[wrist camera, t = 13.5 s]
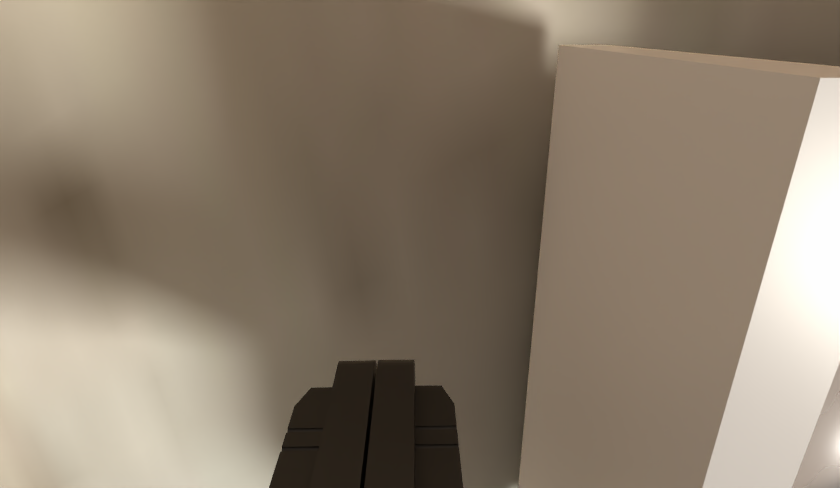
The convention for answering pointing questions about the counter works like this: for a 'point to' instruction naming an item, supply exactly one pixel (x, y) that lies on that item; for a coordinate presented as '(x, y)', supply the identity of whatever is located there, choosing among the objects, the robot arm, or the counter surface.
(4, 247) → the counter surface
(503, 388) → the counter surface
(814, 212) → the drawer
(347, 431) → the robot arm
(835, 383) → the disc
